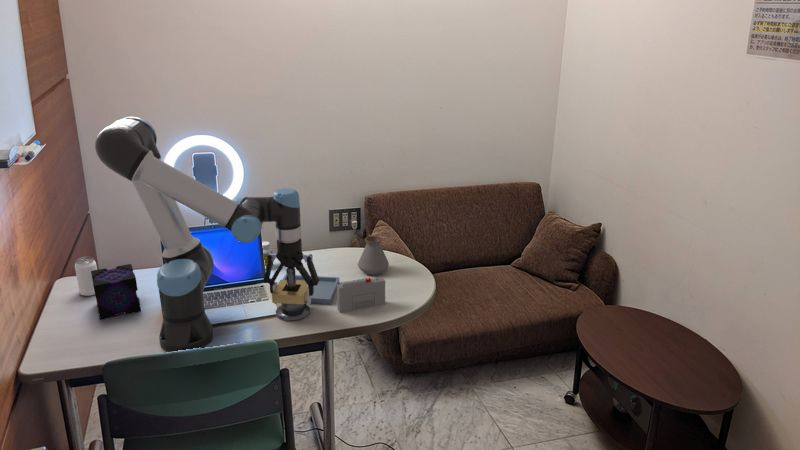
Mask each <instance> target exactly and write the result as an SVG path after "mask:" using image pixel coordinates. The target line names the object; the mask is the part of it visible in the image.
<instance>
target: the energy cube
mask: <svg viewBox="0 0 800 450" xmlns="http://www.w3.org/2000/svg"><path fill="white" fill-rule="evenodd" d="M91 275H92V280H93V286H94V291H95V300H96V304H97V312H98V317H99V320H100V321H102V320H107V319H111V318H115V317H116V316H117V315H121V314H125V315H131V314H134V313H138V312H139V313H140V312H142V310H141V302H140V298H139V296H138V294H137V292H138V284H137V278H136V275H135V272H134V269H133V266H132V263H128V264H121V265H118V266H116V267H115V268H110V269H107V268H106V267H105V268H100V269H97V270H93V271H91Z"/></svg>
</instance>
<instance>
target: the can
mask: <svg viewBox="0 0 800 450" xmlns="http://www.w3.org/2000/svg"><path fill="white" fill-rule="evenodd" d="M74 263H75V264H74V270H75V275H76V281H77V286H78V290H79V293H80V295H81V296H83V297H90V296H94V295H95V291H94V286H93V280H92V275H91V271H93V270H98V267H97V262H96V261H95V258H94V257H92V256H83V257H80V258H77V259H76V260H75V262H74Z"/></svg>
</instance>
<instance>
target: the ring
mask: <svg viewBox="0 0 800 450" xmlns="http://www.w3.org/2000/svg"><path fill="white" fill-rule="evenodd" d="M277 284H278V285H277V287H276V288H275V290H274V291H273V293H271V303H273V304H274V303H277V304H281V303H286V304H303V305H304V304H306V303H305V301H306V299H307V296H306V287H307V283H306V282H305V281H302V280H296V292H293V291H287V280H282V279H280V280H279V282H277Z"/></svg>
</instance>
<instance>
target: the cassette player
mask: <svg viewBox="0 0 800 450" xmlns="http://www.w3.org/2000/svg"><path fill="white" fill-rule="evenodd" d="M340 282H341V281H340ZM336 300H337V301H336V302H337V310H338V312H339V313H340V314H341V313H346V312H352V311H358V310H363V309H369V308H373V307H378V306H384V305H386V280H385V279H384V277H383V276H381V277H375V278H371V277H366V278H365V277H364V278H358V279H353V280H348V281H347V280H346V281H342V282H341V283H339V284H338V285H337V290H336Z"/></svg>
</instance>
